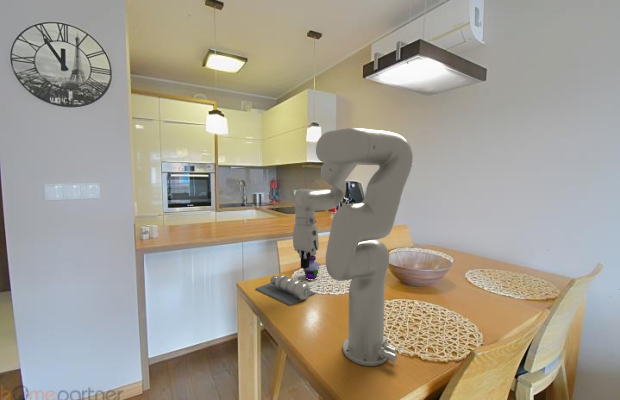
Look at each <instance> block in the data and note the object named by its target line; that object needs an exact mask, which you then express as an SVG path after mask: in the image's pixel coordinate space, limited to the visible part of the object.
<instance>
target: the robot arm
mask: <svg viewBox="0 0 620 400" xmlns="http://www.w3.org/2000/svg"><path fill="white" fill-rule="evenodd" d="M315 154H316V157H317V159H318V160H319V161H320V162H322V163H323V164H322V166H321V168H320V176H321V177H322V179H323V180H324V182H326V183H327V184H328V185H330V187H329V188H327V189H325V188H322V189H321V188H320V189H317V188H316V189H311V188H303V189H301V188H300V189H297V190H296V191H295V193H294V200H295V201H294V204H295V207H294V208H295V209H294V211H295V215H294V216H295V217H294V219H295V220H294V222H295V223H294V225H293V234H292V246H293V248H294V251H295V252H297V253H298V256H299V258H300V268H301V269H306V268H308V267H309V258H310V257H311V256H312V255H314V256H316V255H317V251H318V250H319V249H320V248H319V245H320V243H319V242H320V241H319V231H318V227H317V224H316V223H317V220H316V217H315V216H316V215H315V214H316V211H325V210H328V211H329V210H333V209H334V208H336V207H338V206H339V204H340V203H341V202H342V200H343V199H344V197H345V196H346V192H347V191H346V190H347V183H346V180H347V179H348V177H349V175H351V173H352V172H353V171H354V169H355V168H356V167H357V166H360V165H361V166H378V169H377V170H376V171H375V173H374V174H373V175H372V176H371V177H370V179H369V181H368V183H367V186H366V190H365V195H364V198H363V200H362V201H361V202H357V203H355V202H354V203H347V204H344V205H341V206H340V207H339V208H337V210H336V212H335V213H334V215H333V217H332V220H331V226H330V231H329V236H328V242H327V247H326V252H325V268H326V271H327V273H328V275H329V277H331V278H332V279H333V280H335V281H340V282H342V281H344V282H345V281H349V280H350V283H349V288H348V337H346V338H345V340H343V342H342V352H343V353H344V355H345V357H346V358H348V359H349V360H350V361H352V362H353V363H355V364H358V365H360V366H361V365H362V366H366V367H368V366H369V367H374V366H380V365H381V364H382V365H383V363H385V362H386V361H387V360H389V361H391V362H392V363H396V361H397V358H398V355H397V348H395V347H392V346H390V345H389V344H388V337H386V336H384V333H385V331H384V330H385V326H384V325H385V289H386V279H387V272H388V269H389V263H390V253H389V250H388V247H387V246H386V245H385V244H384V243H383V241H380V240H381V239H384V238H386V237H388V236H389V235H390V233H391V232H392V229H393V227H394V224H395V220H396V216H397V213H398V210H399V207H400V206H399V205H400V203H401V197H402V195H403V191H404V188H405V185H406V183H407V180H408V179H409V176H410V172H411V170H412V167H413V151H412V148H411V145H410V144H409V142H408V140H407V139H406V138H405V137H404V136H402V135H400V134H398V133H396V132H393V131H392V132H391V131H386V130H381V129H380V130H378V129H369V128H360V127H359V128H357V127H350V128H349V127H348V128H341V129H336V130H329V131H327V132H326V131H325V132H324V133H323V134H322V135H321V136H320V137H319V138H318V140H317V143H316V146H315Z"/></svg>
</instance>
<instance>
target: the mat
mask: <svg viewBox="0 0 620 400" xmlns="http://www.w3.org/2000/svg"><path fill="white" fill-rule="evenodd" d="M255 291H258V292H260V293H262V294H264V295H266V296H269V297H270V298H273V299H274V300H276V301H279V302H281V303H282V304H285V305H287V306H289V307H291V306H294V305H295V304H297V303H299V302H301V301H303V300H300V299H297V298H296V297H295V296H293V295H292V294H290V293H287V292H284V291H280V290H278V289H277V288H276V287H275V285H273V284H272V283H271V282H269V283H266V284H264V285H261V286H259V287H255ZM314 295H316V292H314V291H311V290H310V294H309V296H308V297H307V298H306V299H308V298H310V297H312V296H314Z"/></svg>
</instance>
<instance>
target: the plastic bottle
mask: <svg viewBox="0 0 620 400" xmlns="http://www.w3.org/2000/svg"><path fill="white" fill-rule="evenodd" d="M270 283H272V284H273V285H275V287H276V288H277V289H278V290H280V291H284V292H287V293H290V294H292V295H293V296H295V297H296V298H297V299H300V300H302V301H304V300H306V299H308V298H309V297H308V296H309V294H310V291H311V287H310V285H309V284H308V283H306V282H303V281H298V280H294V279H293V278H291V277H289V276H287V275H285V274H281V275H272V276H271V278H270ZM307 297H308V298H307Z"/></svg>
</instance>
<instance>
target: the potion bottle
mask: <svg viewBox="0 0 620 400" xmlns="http://www.w3.org/2000/svg"><path fill="white" fill-rule="evenodd" d="M316 259H317V257H316V255H312V256H311V257H310V258H309V267H308V268H306V269H303V268H302V269H303V272H304V275H305V279H306V278H308V279H315V278H316V277H318V274H319V270H320V267H321V263H319V262H316Z"/></svg>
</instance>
